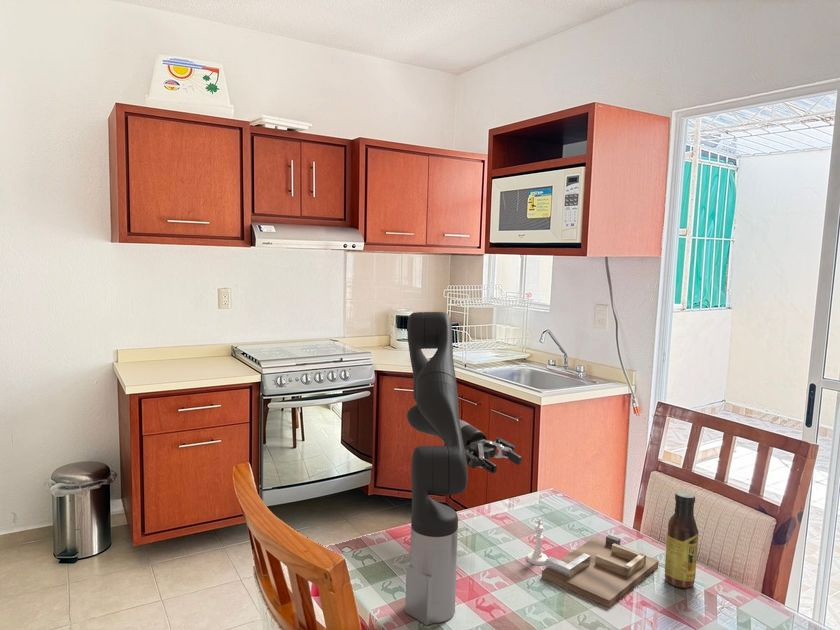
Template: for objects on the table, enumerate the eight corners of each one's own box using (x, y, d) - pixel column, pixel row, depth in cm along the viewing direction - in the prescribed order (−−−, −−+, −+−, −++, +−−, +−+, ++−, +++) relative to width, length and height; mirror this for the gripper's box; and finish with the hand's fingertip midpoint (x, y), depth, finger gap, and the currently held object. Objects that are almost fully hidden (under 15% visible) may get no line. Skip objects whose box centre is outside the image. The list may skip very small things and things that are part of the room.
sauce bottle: (692, 593, 128) (698, 503, 126) (661, 584, 131) (667, 496, 130) (696, 579, 134) (702, 493, 132) (666, 571, 137) (672, 487, 135)
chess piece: (534, 552, 144) (536, 512, 143) (552, 560, 141) (554, 519, 140) (522, 559, 141) (524, 518, 140) (540, 567, 137) (542, 525, 136)
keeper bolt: (569, 578, 130) (569, 569, 129) (545, 567, 134) (546, 559, 134) (590, 564, 136) (590, 555, 136) (566, 554, 140) (567, 546, 140)
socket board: (608, 607, 122) (609, 591, 121) (541, 577, 133) (542, 562, 133) (658, 566, 139) (659, 552, 138) (594, 542, 150) (595, 529, 150)
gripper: (444, 430, 152) (488, 458, 140) (485, 419, 161) (530, 445, 148) (441, 456, 154) (485, 487, 142) (482, 444, 163) (526, 472, 150)
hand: (508, 465), depth 145 cm, fingers open, 8 cm apart
